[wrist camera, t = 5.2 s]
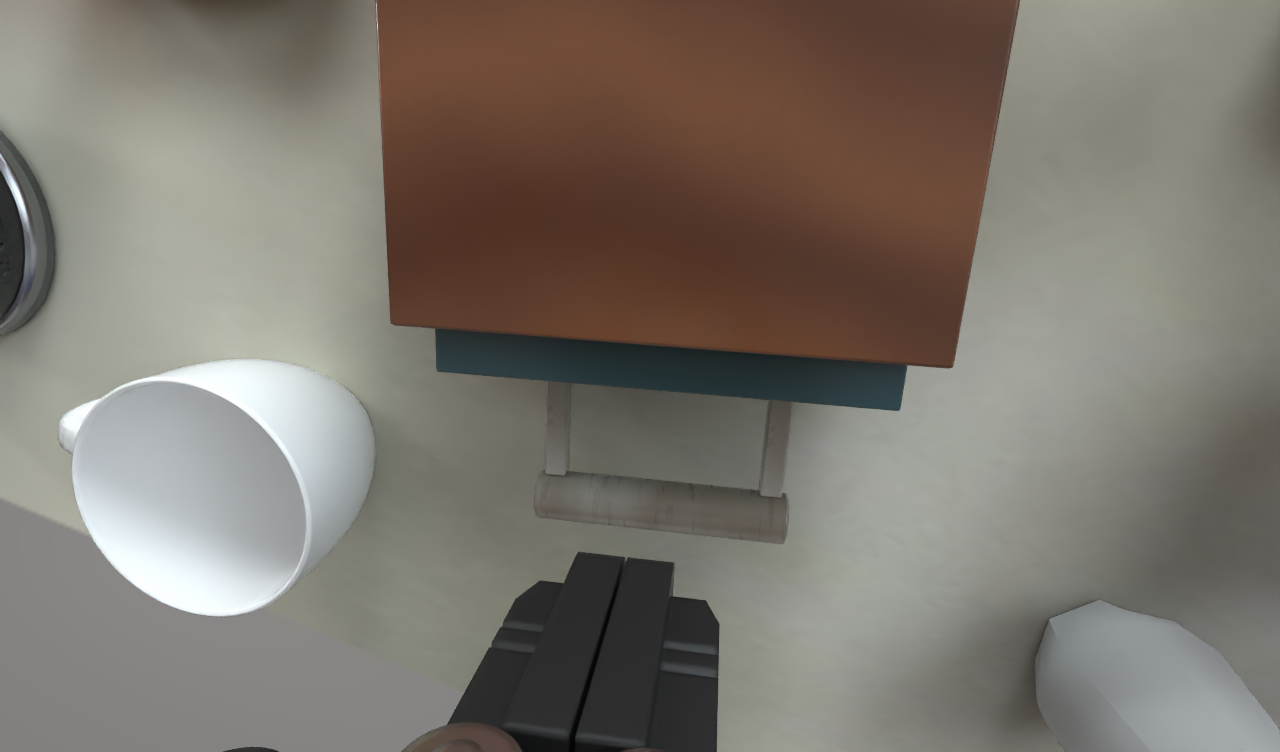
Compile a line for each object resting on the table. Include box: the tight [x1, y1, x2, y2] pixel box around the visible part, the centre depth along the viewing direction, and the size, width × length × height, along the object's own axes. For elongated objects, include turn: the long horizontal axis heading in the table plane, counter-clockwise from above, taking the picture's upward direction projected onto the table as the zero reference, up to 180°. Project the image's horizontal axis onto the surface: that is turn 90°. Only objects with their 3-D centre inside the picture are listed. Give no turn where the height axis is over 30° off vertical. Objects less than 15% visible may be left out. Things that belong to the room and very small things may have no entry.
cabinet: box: [375, 0, 1020, 368], centre depth 16 cm, size 14×12×10 cm
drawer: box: [435, 329, 907, 544], centre depth 17 cm, size 17×10×8 cm, turn 177°
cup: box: [57, 358, 376, 617], centre depth 22 cm, size 8×10×7 cm
